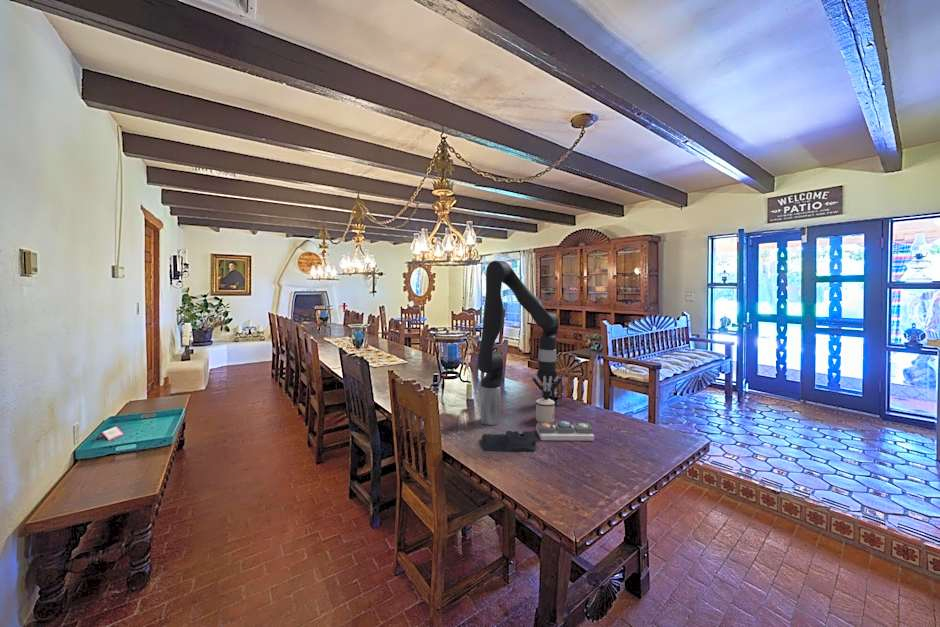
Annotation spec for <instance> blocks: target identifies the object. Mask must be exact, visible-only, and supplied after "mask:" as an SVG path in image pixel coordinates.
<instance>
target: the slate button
mask: <svg viewBox="0 0 940 627" xmlns="http://www.w3.org/2000/svg"><path fill="white" fill-rule="evenodd" d="M558 423H559V428H570V424H571V423H570V422H569V421H567V420H561V421H559V422H558Z"/></svg>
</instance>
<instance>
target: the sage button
mask: <svg viewBox="0 0 940 627" xmlns="http://www.w3.org/2000/svg"><path fill="white" fill-rule="evenodd" d="M579 423H580V424H578V428H588V425H587V424H582V423H583V422H579Z"/></svg>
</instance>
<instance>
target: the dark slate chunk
mask: <svg viewBox="0 0 940 627" xmlns="http://www.w3.org/2000/svg"><path fill="white" fill-rule="evenodd" d="M537 440H538V439H537V438H536V436H535V433H534V431H532V430H531V431H525V430H524V431H522V433H520V432H519V431H518V430H516V431H511V430H507V431H506V432H505V433H496V434H495V433H494V434H492V433H483V434H482V436H481V444H482V449H483V450H484V451H485V452H487V451H488V452H489V451H492V452H493V453H494V451H495V452H496V453H498V452H499V453H512V452H513V453H521V452H522V453H534V452H535V451H537V448H536V445H537V442H538V441H537Z"/></svg>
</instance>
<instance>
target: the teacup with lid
mask: <svg viewBox="0 0 940 627" xmlns="http://www.w3.org/2000/svg"><path fill="white" fill-rule="evenodd" d="M554 405H555V402H554V401H553V400H550V399H549V398H548V400H544V398H542V397H541V398H538V399H536V400H535V420H536V422H537V423H552V424H553V423H554V422H555V407H554Z"/></svg>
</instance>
